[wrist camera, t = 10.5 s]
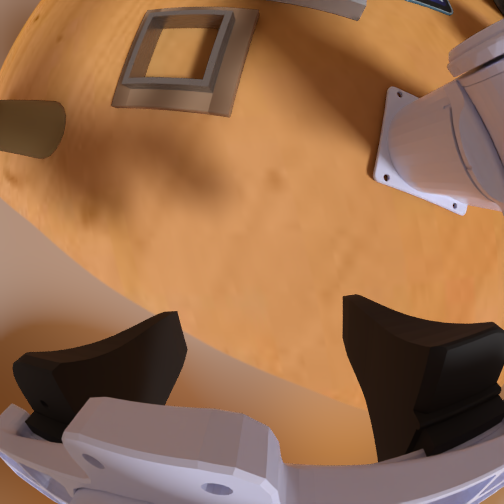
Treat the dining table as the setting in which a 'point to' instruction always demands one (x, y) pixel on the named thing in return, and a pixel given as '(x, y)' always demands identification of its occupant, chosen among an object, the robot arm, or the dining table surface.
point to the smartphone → (435, 5)
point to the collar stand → (183, 89)
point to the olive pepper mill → (31, 127)
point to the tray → (333, 6)
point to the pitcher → (500, 5)
